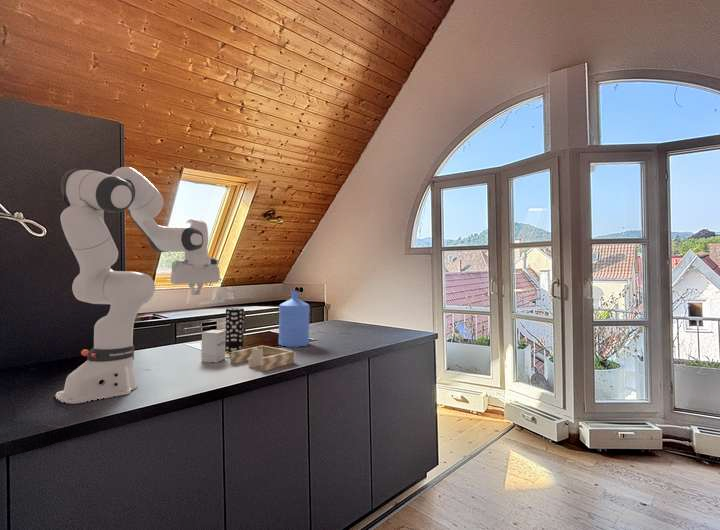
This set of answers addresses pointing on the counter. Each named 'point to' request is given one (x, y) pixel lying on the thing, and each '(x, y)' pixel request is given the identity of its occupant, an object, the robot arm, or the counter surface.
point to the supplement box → (213, 346)
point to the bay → (265, 357)
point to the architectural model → (255, 357)
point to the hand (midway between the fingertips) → (195, 294)
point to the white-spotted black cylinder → (234, 329)
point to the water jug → (294, 322)
